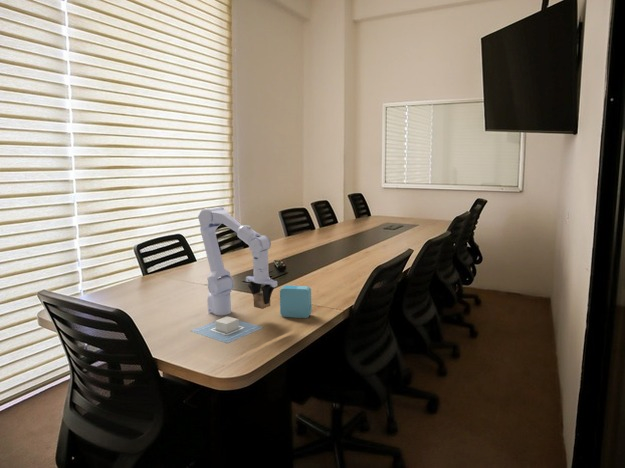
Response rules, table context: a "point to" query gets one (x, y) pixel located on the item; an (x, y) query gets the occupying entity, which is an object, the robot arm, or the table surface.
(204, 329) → the blueprint board
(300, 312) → the data package
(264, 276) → the robot arm
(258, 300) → the walnut block
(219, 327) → the base block
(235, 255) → the table surface
